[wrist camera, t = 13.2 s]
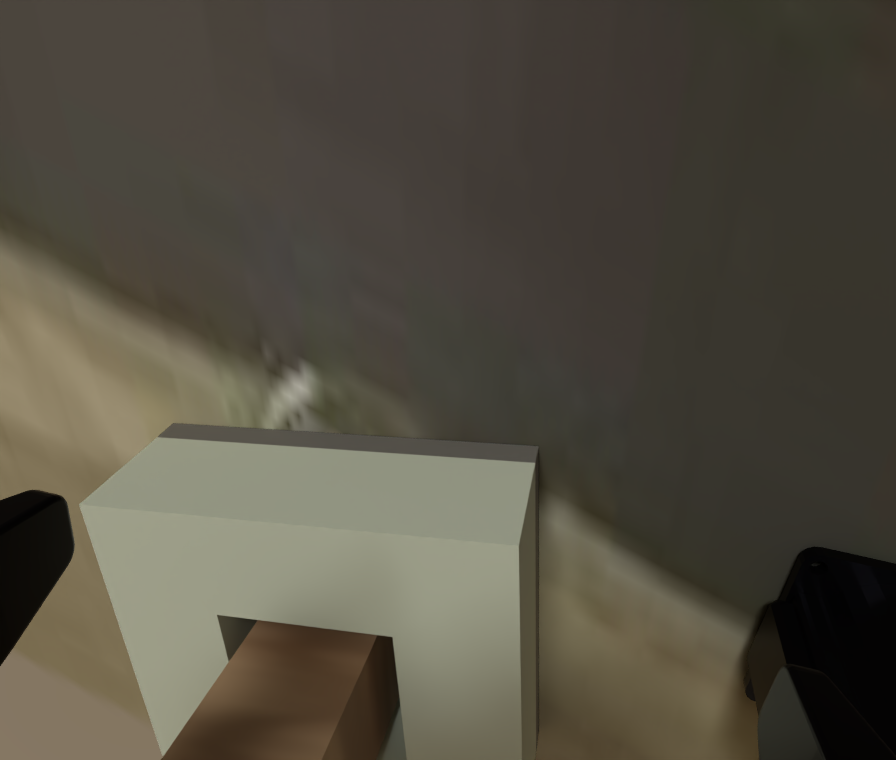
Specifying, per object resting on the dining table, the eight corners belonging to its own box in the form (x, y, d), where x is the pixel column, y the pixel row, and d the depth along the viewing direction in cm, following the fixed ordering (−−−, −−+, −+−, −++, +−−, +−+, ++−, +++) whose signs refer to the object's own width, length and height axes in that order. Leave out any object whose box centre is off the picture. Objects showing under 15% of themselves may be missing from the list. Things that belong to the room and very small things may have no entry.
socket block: (538, 446, 22) (518, 545, 18) (538, 730, 28) (523, 860, 24) (173, 423, 25) (78, 504, 21) (238, 686, 31) (175, 793, 26)
